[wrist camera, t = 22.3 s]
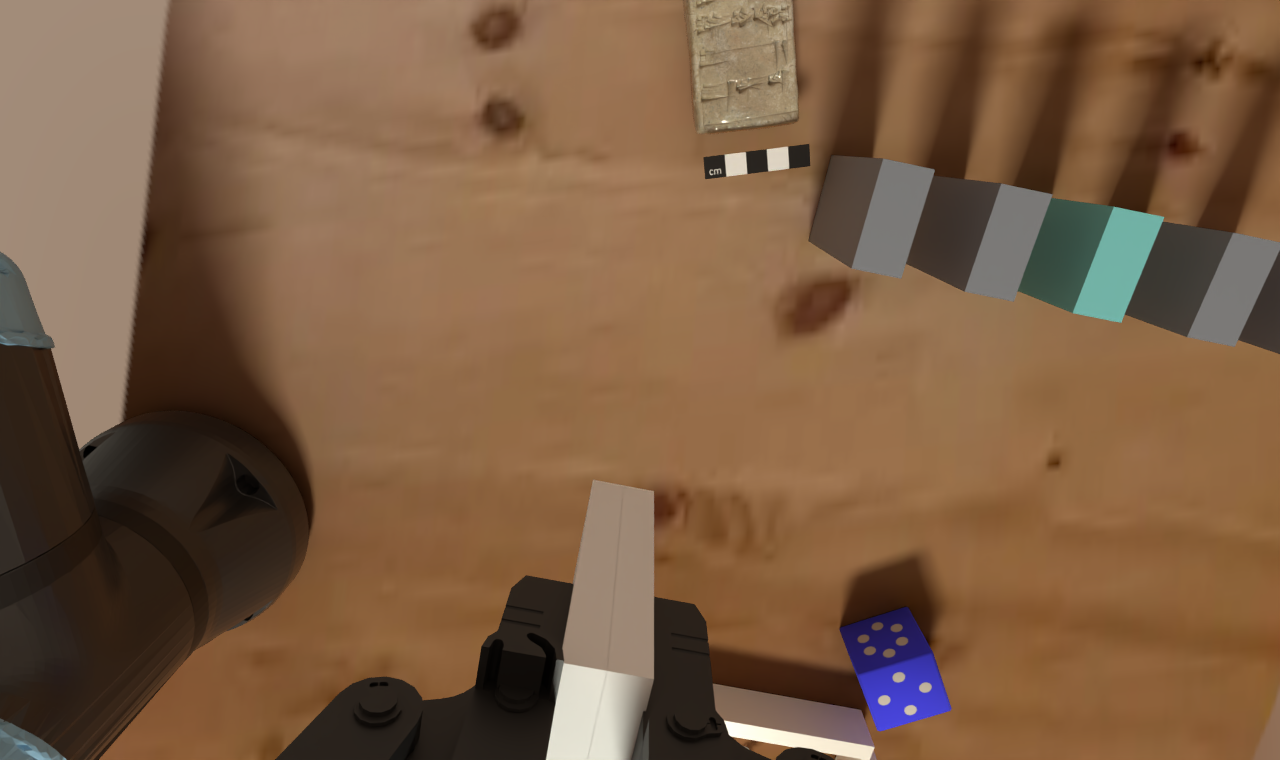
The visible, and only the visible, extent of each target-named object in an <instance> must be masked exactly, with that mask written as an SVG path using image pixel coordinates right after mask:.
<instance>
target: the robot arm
mask: <svg viewBox="0 0 1280 760" xmlns="http://www.w3.org/2000/svg"><path fill="white" fill-rule="evenodd" d="M54 347H55V346H54V342H53V340H52V338H51V337H49V336H48V335H46V334H45V332H44V330H43V327H42V325H41V322H40V319H39V317H38V314H37V312H36V309H35V306H34V303H33V301H32V298H31V295H30V292H29V289H28V286H27V283H26V281H25V278H24V276H23V274H22V272H21V270H20V269H19V268H18V266H17V265H16V264H15V263H14V262H13V261H12V260H11V259H10V258H9V257H7V256H6V255H4V254H3V253H1V252H0V760H99V759H100V757H101V756H102V755H103V754H104V753H105V752H106V751H107V749H108V748H109V747H110V746H111V745H112V744H113V743H114V741H115V740H116V739H117V738H118V737H119V736H120V734H121V733H122V732H123V731H124V730H125V729H126V728H127V726H128V725H129V724H130V723H131V722H132V721H133V720H134V718H135V717H136V716H137V715H138V714H139V713H140V712H141V710H142V709H143V708H144V707H145V706H146V705H147V703H148V702H149V701H150V700H151V699H152V698H153V697H154V695H155V694H156V693H157V692H158V691H159V690H160V689H161V687H162V686H163V685H164V684H165V683H166V682H167V680H168V679H169V678H170V677H171V676H172V675H173V674H174V672H175V671H176V670H177V669H178V668H179V667H180V666H181V665H182V664H183V663H184V661H185V660H186V659H187V658H188V657H189V656H190V655H191V654H192V652H193V651H194V650H196V649H198V648H200V647H201V646H203V645H205V644H207V643H208V642H210V641H211V640H213V639H214V638H216V637H217V636H218V635H220V634H222V633H224V632H225V631H228V630H231V629H234V628H236V627H239V626H241V625H243V624H245V623H247V622H249V621H251V620H252V619H254V618H256V617H257V616H259V615H260V614H261V613H263V612H264V611H265V610H266V609H268V608H269V607H270V606H271V605H272V604H273V603H274V602H275V601H276V600H277V599H278V598H279V596H280V595H281V594H282V593H283V592H284V590H285V589H286V588H287V587H288V586H289V584H290V583H291V582H292V581H293V579H294V578H295V577H296V575H297V573H298V572H299V570H300V568H301V566H302V564H303V561H304V558H305V555H306V551H307V547H308V539H309V526H308V518H307V512H306V508H305V505H304V502H303V499H302V496H301V494H300V491H299V489H298V487H297V485H296V483H295V482H294V480H293V478H292V477H291V475H290V474H289V472H288V471H287V469H286V468H285V467H284V465H283V464H282V463H281V462H280V461H279V459H278V458H277V457H276V456H275V455H274V454H273V453H272V452H271V451H270V450H269V449H268V448H266V447H265V446H264V445H263V444H262V443H261V442H259V441H258V440H257V439H255V438H254V437H252V436H251V435H249V434H248V433H246V432H245V431H243V430H241V429H240V428H238V427H236V426H234V425H232V424H229V423H227V422H225V421H222V420H220V419H217V418H214V417H211V416H207V415H203V414H199V413H194V412H187V411H158V412H151V413H146V414H142V415H139V416H136V417H133V418H131V419H128V420H126V421H124V422H122V423H120V424H118V425H116V426H114V427H113V428H111V429H109V430H107V431H105V432H103V433H101V434H100V435H98V436H96V437H95V438H94V439H92V440H91V441H89V442H88V443H87V444H85V445H84V446H83V447H82V448H81V449H80V450H79V448H78V444H77V441H76V437H75V433H74V430H73V426H72V423H71V419H70V416H69V412H68V408H67V405H66V401H65V398H64V394H63V391H62V387H61V383H60V380H59V376H58V373H57V369H56V366H55V362H54V358H53V355H52V351H51V348H54ZM275 760H771V759H769V758H766V757H764V756H762V755H760V754H757V753H755V752H753V751H751V750H749V749H748V748H746V747H744V746H742V745H741V744H739V743H738V742H737V741H736V740H734V739H733V738H732V737H731V736H730V735H729V734H728V730H727V727H726V724H725V722H724V720H723V718H722V717H721V716H720V715H719V714H718V713H717V711H716V709H715V699H714V690H713V681H712V672H711V663H710V657H709V644H708V635H707V626H706V621H705V619H704V618H703V616H702V615H701V613H700V612H699V610H698V609H697V607H696V606H695V604H690V603H685V602H679V601H674V600H668V599H663V598H657V597H654V491H650V490H645V489H639V488H634V487H629V486H623V485H618V484H613V483H608V482H602V481H597V480H593V483H592V488H591V493H590V498H589V503H588V508H587V513H586V519H585V524H584V529H583V534H582V539H581V544H580V549H579V554H578V559H577V564H576V569H575V574H574V580H573V584H571V583H565V582H560V581H554V580H549V579H543V578H538V577H532V576H527V575H526V576H525V577H524V578H523V579H521V580H520V581H519V582H518V583H517V584H516V585H515V586H513V587H512V588H511V591H510V595H509V598H508V601H507V604H506V608H505V610H504V613H503V616H502V620H501V623H500V626H499V629H498V631H497V632H495V633H493V634H492V635H490V636H488V638H487V639H486V641H485V642H484V643H483V645H482V647H481V653H480V660H479V666H478V672H477V679H476V685H475V686H474V687H472V688H471V689H469V690H467V691H466V692H464V693H462V694H459V695H456V696H454V697H449V698H443V699H435V700H422V697H421V696H420V694H419V693H418V692H417V690H416V689H415V687H413V686H411V685H410V684H408V683H406V682H405V681H403V680H400V679H395V678H390V677H375V678H367V679H364V680H362V681H359V682H356V683H353V684H351V685H350V686H349V687H347V688H346V689H345V690H343V691H342V692H340V693H339V694H338V695H337V696H336V697H335V698H334V699H333V700H332V702H331V703H330V704H329V705H328V706H327V707H326V708H325V709H324V710H323V711H322V712H321V713H320V714H319V715H318V716H317V717H316V718H315V719H314V720H313V721H312V722H311V723H310V724H309V725H308V726H307V727H306V728H305V729H304V730H303V731H302V733H301V734H300V735H299V736H298V737H297V738H296V739H295V740H294V741H293V742H292V743H291V744H290V745H289V746H288V747H287V748H286V749H285V750H284V751H283V752H282V753H281V754H280V755H279V756H278V757H277V758H276V759H275ZM776 760H834V759H832V758H831V757H830V756H828V755H826V754H823V753H821V752H819V751H816V750H814V749H809V748H802V747H796V748H791V749H786V750H784V751H783V752H782V753H781V754H780V755H779V756H777V758H776Z"/></svg>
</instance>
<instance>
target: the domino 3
mask: <svg viewBox="0 0 1280 760" xmlns="http://www.w3.org/2000/svg"><path fill="white" fill-rule="evenodd" d="M1163 219H1164V217H1161V216H1156V215H1151V214H1146V213H1142V212H1137V211H1132V210H1127V209H1123V208H1118V207H1113V206H1105V205H1098V204H1091V203H1084V202H1076V201H1069V200H1062V199H1054V198H1051V200H1050V203H1049V206H1048V208H1047V211H1046V214H1045V217H1044V219H1043V222H1042V225H1041V228H1040V230H1039V233H1038V236H1037V239H1036V241H1035V244H1034V247H1033V250H1032V252H1031V255H1030V258H1029V261H1028V263H1027V266H1026V269H1025V272H1024V274H1023V277H1022V280H1021V283H1020V285H1019V288H1018V291H1020V292H1022V293H1024V294H1027V295H1029V296H1032V297H1034V298H1037V299H1039V300H1042V301H1044V302H1047V303H1049V304H1052V305H1054V306H1057V307H1059V308H1062V309H1064V310H1067V311H1069V312H1072V313H1075V314H1080V315H1085V316H1090V317H1095V318H1100V319H1105V320H1110V321H1115V322H1120V323H1121V322H1122V319H1123V317H1124V314H1125V312H1126V309H1127V307H1128V305H1129V302H1130V300H1131V297H1132V295H1133V292H1134V290H1135V287H1136V285H1137V283H1138V280H1139V278H1140V275H1141V273H1142V270H1143V268H1144V266H1145V263H1146V261H1147V258H1148V256H1149V253H1150V251H1151V248H1152V246H1153V244H1154V241H1155V239H1156V236H1157V234H1158V231H1159V229H1160V227H1161V224H1162V222H1163Z"/></svg>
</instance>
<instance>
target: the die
mask: <svg viewBox="0 0 1280 760" xmlns="http://www.w3.org/2000/svg"><path fill="white" fill-rule="evenodd" d="M840 632H841V635H842V638H843V640H844V643H845V646H846V648H847V651H848V654H849V656H850V659H851V662H852V664H853V667H854V670H855V672H856V675H857V678H858V680H859V683H860V686H861V688H862V691H863V694H864V696H865V699H866V701H867V704H868V707H869V709H870V712H871V715H872V717H873V720H874V723H875V725H876V728H877V730H878V731H883V730H886V729H890V728H893V727H897V726H900V725H903V724H907V723H910V722H914V721H917V720H920V719H924V718H927V717H931V716H934V715H937V714H941V713H944V712H948V711H950V710H951V706H950V703H949V700H948V697H947V694H946V691H945V688H944V685H943V682H942V679H941V676H940V673H939V670H938V667H937V663H936V660H935V657H934V654H933V652H932V650H931V648H930V646H929V644H928V643H927V641H926V639H925V637H924V635H923V633H922V632H921V630H920V628H919V626H918V624H917V623H916V621H915V619H914V617H913V615H912V613H911V612H910V610H909V608H908V607H904V608H901V609H897V610H894V611H891V612H888V613H885V614H882V615H878V616H875V617H872V618H869V619H866V620H863V621H859V622H856V623H853V624H850V625H847V626H843V627H841V628H840Z"/></svg>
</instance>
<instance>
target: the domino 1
mask: <svg viewBox="0 0 1280 760" xmlns="http://www.w3.org/2000/svg"><path fill="white" fill-rule="evenodd" d="M934 172H935V170H934V169H930V168H925V167H920V166H916V165H911V164H906V163H901V162H897V161H892V160H887V159H881V158H866V157H852V156H838V155H832V156H831V159H830V163H829V167H828V171H827V174H826V178H825V182H824V185H823V189H822V193H821V197H820V200H819V204H818V208H817V212H816V215H815V219H814V223H813V227H812V230H811V234H810V238H809V242H811V243H812V244H814V245H815V246H817V247H819V248H820V249H822V250H823V251H825V252H826V253H828V254H830V255H831V256H833V257H834V258H836V259H837V260H839V261H841V262H842V263H844V264H845V265H847V266H848V267H850V268H852V269H857V270H862V271H866V272H871V273H876V274H881V275H886V276H891V277H896V278H901V277H902V274H903V271H904V268H905V265H906V261H907V258H908V255H909V252H910V249H911V245H912V242H913V239H914V236H915V233H916V229H917V226H918V223H919V220H920V217H921V213H922V210H923V207H924V204H925V200H926V197H927V194H928V191H929V188H930V184H931V181H932V178H933V175H934Z"/></svg>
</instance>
